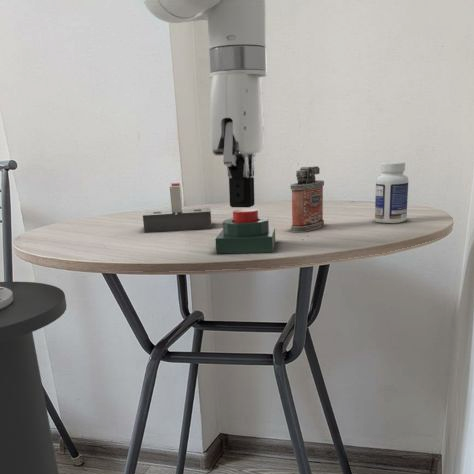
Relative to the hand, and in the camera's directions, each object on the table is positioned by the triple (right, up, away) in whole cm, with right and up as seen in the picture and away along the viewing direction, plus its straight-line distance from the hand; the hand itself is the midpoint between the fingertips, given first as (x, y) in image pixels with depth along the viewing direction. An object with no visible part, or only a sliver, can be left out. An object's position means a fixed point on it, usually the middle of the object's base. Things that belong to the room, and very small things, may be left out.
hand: (242, 206), depth 84 cm
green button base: (+1, -5, +2) cm, 6 cm away
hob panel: (-11, +2, +23) cm, 26 cm away
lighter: (+11, 0, +16) cm, 20 cm away
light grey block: (-12, +5, +22) cm, 25 cm away
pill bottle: (+26, +2, +18) cm, 32 cm away
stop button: (+1, -2, +1) cm, 2 cm away
